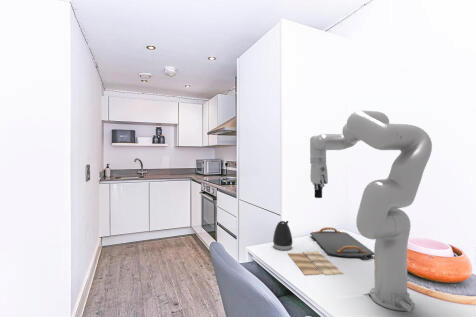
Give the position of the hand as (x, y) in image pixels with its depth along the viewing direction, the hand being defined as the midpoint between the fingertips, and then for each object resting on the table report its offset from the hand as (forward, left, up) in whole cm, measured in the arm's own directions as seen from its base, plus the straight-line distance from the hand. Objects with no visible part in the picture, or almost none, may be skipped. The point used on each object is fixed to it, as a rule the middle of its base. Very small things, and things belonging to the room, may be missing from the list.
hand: (318, 197), depth 119 cm
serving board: (+12, -17, -30) cm, 36 cm away
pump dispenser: (+11, +15, -29) cm, 35 cm away
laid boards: (-9, +3, -29) cm, 31 cm away
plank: (-9, +11, -29) cm, 32 cm away
